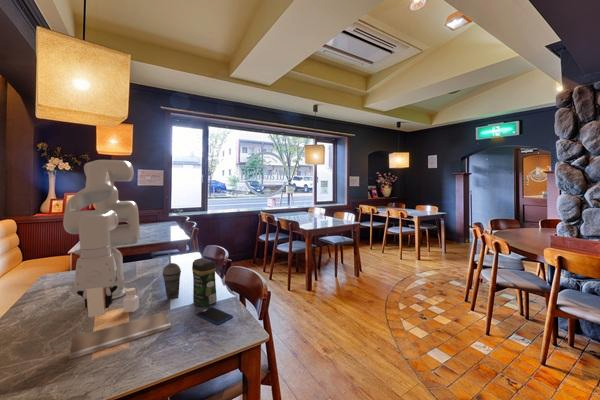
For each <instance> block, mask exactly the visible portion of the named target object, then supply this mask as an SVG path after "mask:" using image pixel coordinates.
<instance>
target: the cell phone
mask: <svg viewBox="0 0 600 400" xmlns="http://www.w3.org/2000/svg"><path fill="white" fill-rule="evenodd" d="M195 315H196V316H197V317H199V318H201V319H204V321H208V322H209V323H211V324H213V325H215V326H220V325H222V324H224V323H226V322H227V321H230V320H231V319H233V318H234V315H232V314H230V313H227V312H225V311H223V310H221V309H219V308H216V307H214V306H208V307H206V308H204V309H203V310H200V311H198V312H196V314H195Z"/></svg>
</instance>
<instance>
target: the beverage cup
mask: <svg viewBox="0 0 600 400" xmlns="http://www.w3.org/2000/svg"><path fill="white" fill-rule="evenodd" d="M167 254H168V256H167V257H168V262H169V263H168V264H166V265H165V267H164V268H163V270H162V277H163V281H164V282H163V283H164V288H165V295H166V300H167V301H168V300H169V301H170V300H171V301H172V300H176V299H177V300H178V299H179V296H180V282H181V279H180V278H181V272H182V271H181V267H180V266H179V264H177V263H175V262H174V263H173V262H171V256H170V253H167Z"/></svg>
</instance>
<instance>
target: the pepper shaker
mask: <svg viewBox="0 0 600 400" xmlns="http://www.w3.org/2000/svg"><path fill="white" fill-rule="evenodd" d="M136 292H137V291H136V287H130V288H128V289H127V290H126V294H125V297H124V298H123V300H122V302H123V303H122V305H123V306H122V307H123V313H134V312H136V311H137V310H138V309H139V308H140V302H139V301H140V300H139V298H140V297H139V295H136Z"/></svg>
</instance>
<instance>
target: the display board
mask: <svg viewBox="0 0 600 400" xmlns="http://www.w3.org/2000/svg"><path fill="white" fill-rule="evenodd" d="M171 328H172V324H171V322H169V321H168V319H167V316H166V314H165V312H160V313H156V314H153V315H148V316H145V317H142V318H141V317H140V318H138V319H135V320H130V321H127V322H123V323H120V324H116V325H112V326H109V327H106V328H101V329H98V330H95V331H91V332H87V333H83V334H80V335H77V336H73V337H72V341H71V347H70V352H69V354H68V360H71V359H72V360H73V359H75V358H76V359H77V358H78V357H81V356H85V355H88V354H93V353H95V352H98V351H102V350H104V349H107V348H111V347H113V346H117V345H121V344H124V343H128V342H130V341H133V340H136V339H139V338H142V337H146V336H150V335H153V334H156V333H159V332H161V331H165V330H168V329H171Z"/></svg>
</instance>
